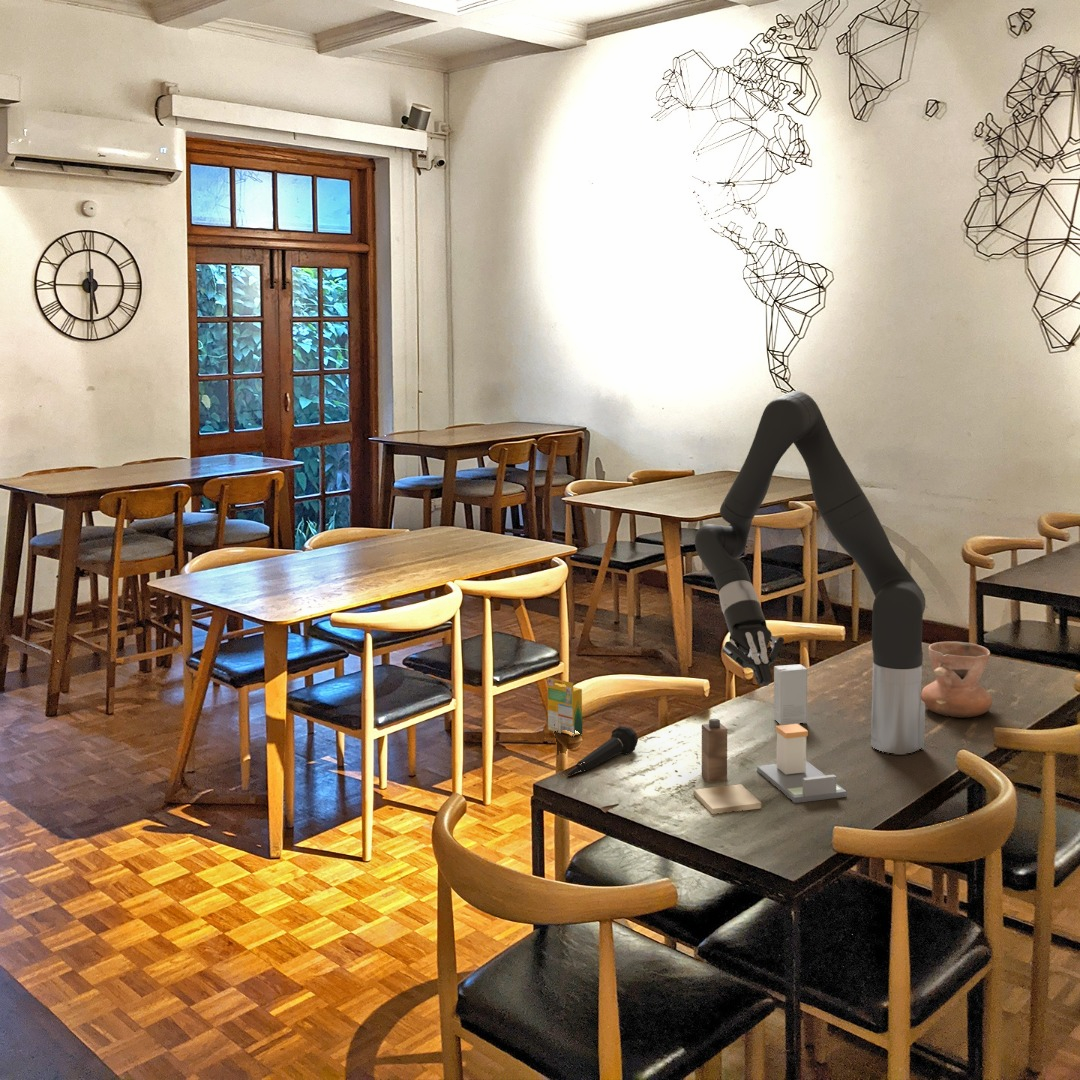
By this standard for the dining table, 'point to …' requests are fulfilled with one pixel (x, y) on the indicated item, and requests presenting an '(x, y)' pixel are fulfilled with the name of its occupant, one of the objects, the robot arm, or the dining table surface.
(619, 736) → the microphone
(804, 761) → the orange-capped white pillar
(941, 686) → the ceramic jug
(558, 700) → the food box
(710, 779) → the pepper mill
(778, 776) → the panel
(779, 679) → the skincare box
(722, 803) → the coaster
